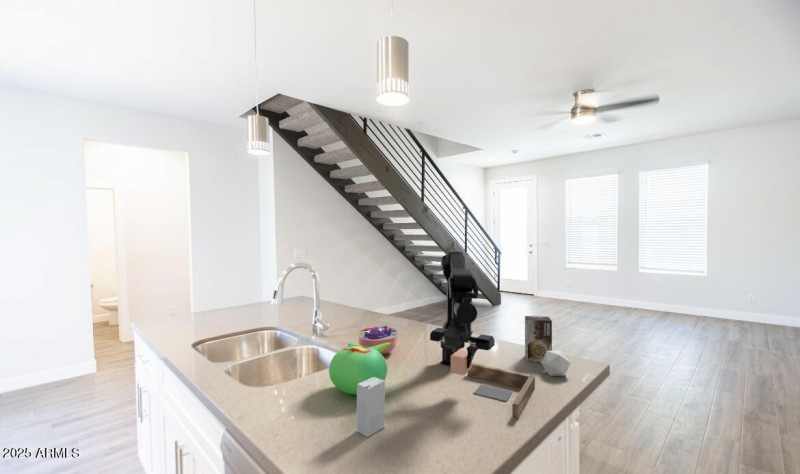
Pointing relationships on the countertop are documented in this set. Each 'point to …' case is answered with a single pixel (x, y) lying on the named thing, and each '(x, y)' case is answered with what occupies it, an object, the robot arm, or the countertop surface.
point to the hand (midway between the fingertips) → (461, 366)
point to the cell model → (378, 337)
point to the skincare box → (370, 406)
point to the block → (459, 362)
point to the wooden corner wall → (511, 379)
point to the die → (555, 363)
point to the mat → (493, 393)
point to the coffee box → (537, 337)
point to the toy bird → (357, 366)
